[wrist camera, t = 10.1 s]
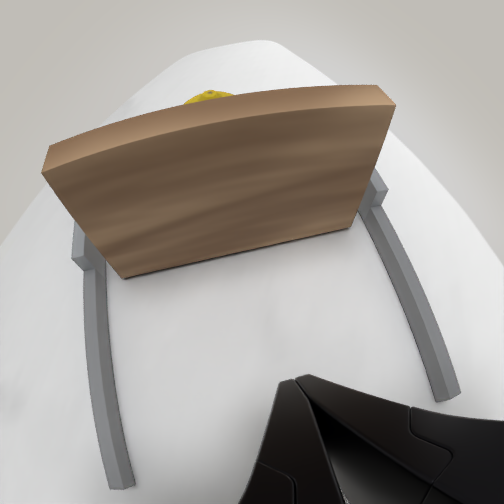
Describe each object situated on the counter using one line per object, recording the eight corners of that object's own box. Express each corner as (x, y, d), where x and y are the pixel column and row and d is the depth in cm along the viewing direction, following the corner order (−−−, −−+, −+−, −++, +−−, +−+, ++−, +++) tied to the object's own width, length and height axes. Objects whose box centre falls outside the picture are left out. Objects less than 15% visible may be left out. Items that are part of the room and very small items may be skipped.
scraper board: (350, 226, 18) (396, 105, 11) (121, 278, 17) (41, 172, 9) (340, 206, 19) (377, 85, 11) (120, 255, 18) (49, 145, 10)
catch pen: (446, 396, 13) (489, 385, 10) (122, 484, 11) (84, 498, 8) (322, 131, 23) (329, 91, 20) (99, 177, 22) (80, 140, 18)
